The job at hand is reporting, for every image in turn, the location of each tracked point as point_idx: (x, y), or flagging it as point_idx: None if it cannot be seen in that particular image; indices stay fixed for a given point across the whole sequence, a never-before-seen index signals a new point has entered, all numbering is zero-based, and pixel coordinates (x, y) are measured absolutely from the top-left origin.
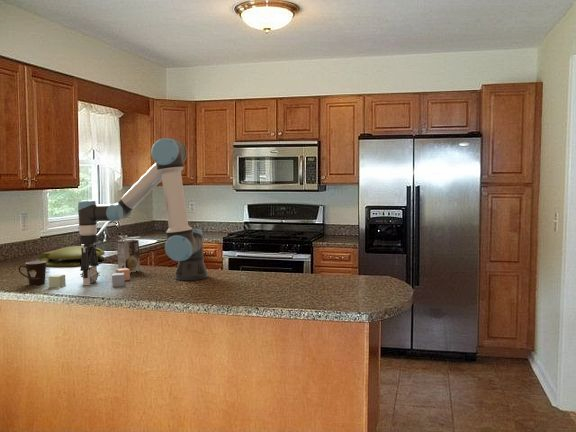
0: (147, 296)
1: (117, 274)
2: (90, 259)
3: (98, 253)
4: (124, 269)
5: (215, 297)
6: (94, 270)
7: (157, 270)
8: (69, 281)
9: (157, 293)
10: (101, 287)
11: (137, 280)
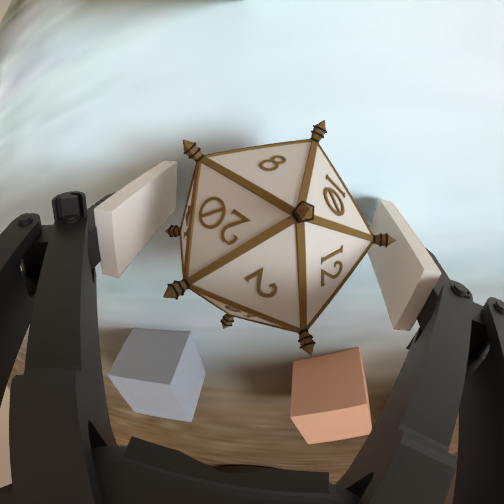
0: (23, 372)
1: (136, 396)
2: (417, 362)
3: None
4: (318, 432)
5: None
6: (223, 307)
7: (457, 432)
8: (437, 23)
9: None
10: (108, 279)
11: (271, 411)
